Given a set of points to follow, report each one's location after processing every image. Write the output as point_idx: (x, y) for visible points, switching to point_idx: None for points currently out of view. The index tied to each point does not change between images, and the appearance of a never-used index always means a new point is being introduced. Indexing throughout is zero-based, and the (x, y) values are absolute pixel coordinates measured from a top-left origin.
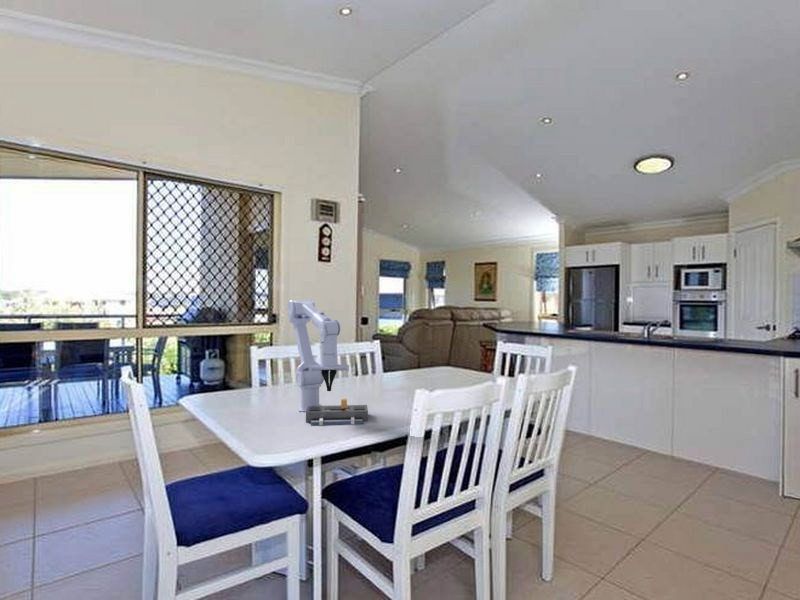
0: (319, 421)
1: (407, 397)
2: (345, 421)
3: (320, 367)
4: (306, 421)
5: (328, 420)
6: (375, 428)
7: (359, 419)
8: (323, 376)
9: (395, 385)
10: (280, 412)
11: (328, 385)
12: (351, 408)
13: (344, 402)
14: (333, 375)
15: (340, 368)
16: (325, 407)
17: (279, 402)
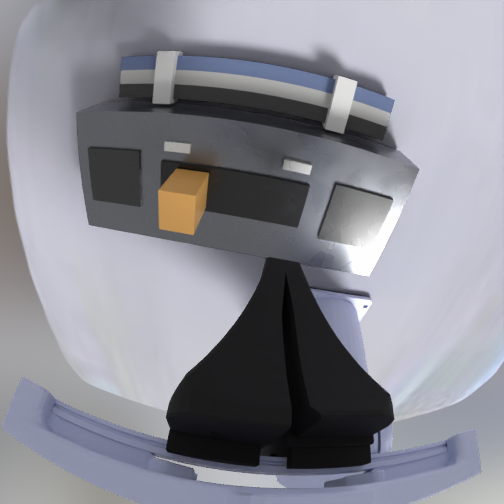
0: (354, 81)
1: (48, 321)
2: (207, 57)
3: (414, 493)
4: (398, 152)
5: (299, 96)
6: (91, 4)
7: (133, 82)
8: (369, 379)
9: (98, 386)
10: (420, 306)
11: (292, 291)
12: (152, 176)
13: (178, 185)
14: (221, 375)
15: (111, 451)
16: (296, 224)
17: (376, 374)
